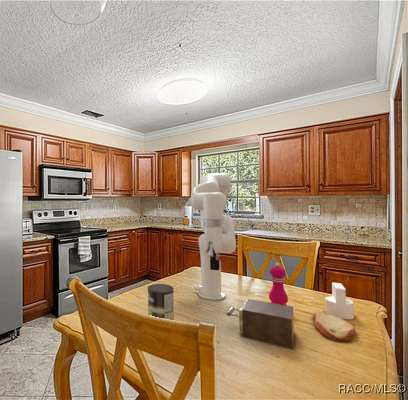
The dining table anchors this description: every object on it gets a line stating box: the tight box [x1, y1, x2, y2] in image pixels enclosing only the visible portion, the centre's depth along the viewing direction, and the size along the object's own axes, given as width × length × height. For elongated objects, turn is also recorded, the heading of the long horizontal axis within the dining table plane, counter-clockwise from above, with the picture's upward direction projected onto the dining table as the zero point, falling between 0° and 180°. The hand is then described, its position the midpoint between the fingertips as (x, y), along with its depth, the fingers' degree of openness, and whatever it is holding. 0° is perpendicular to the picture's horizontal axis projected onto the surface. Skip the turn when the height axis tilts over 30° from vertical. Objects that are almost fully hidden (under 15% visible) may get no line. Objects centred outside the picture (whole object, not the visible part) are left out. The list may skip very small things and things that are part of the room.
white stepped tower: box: [324, 282, 355, 320], centre depth 113 cm, size 9×9×12 cm
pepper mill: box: [268, 262, 289, 306], centre depth 121 cm, size 7×7×20 cm
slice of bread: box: [313, 310, 357, 343], centre depth 101 cm, size 18×18×4 cm
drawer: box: [226, 300, 247, 334], centre depth 100 cm, size 18×11×8 cm, turn 54°
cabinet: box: [242, 298, 295, 350], centre depth 97 cm, size 15×13×10 cm
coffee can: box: [147, 283, 175, 321], centre depth 109 cm, size 10×10×14 cm
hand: (214, 269), depth 108 cm, fingers closed
